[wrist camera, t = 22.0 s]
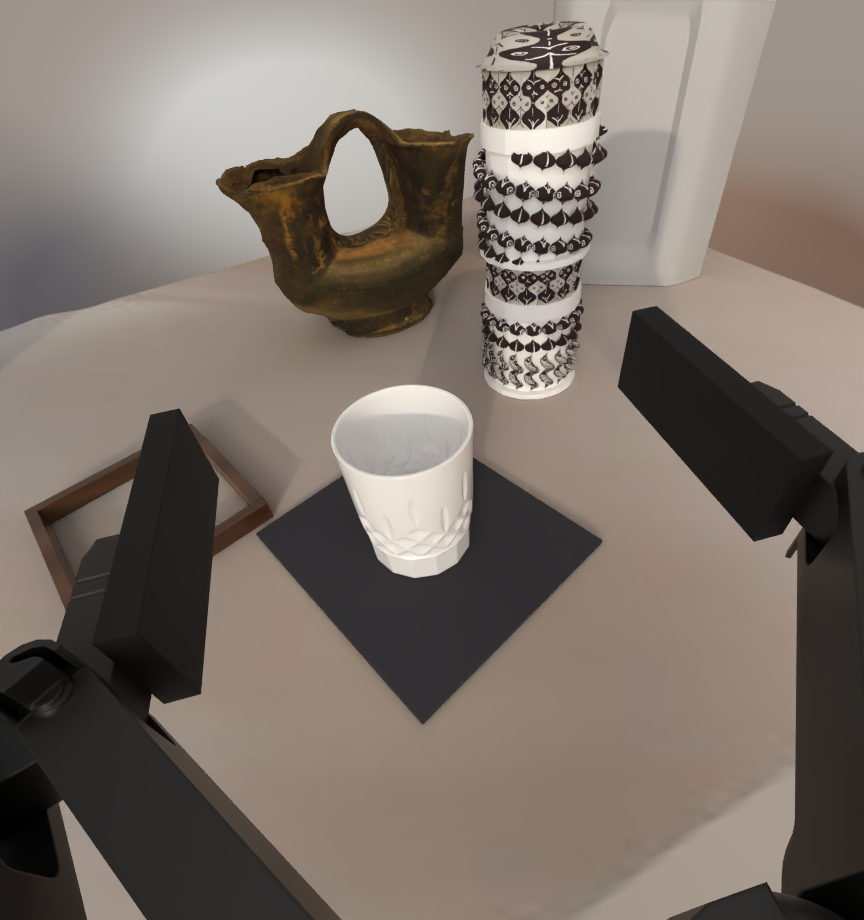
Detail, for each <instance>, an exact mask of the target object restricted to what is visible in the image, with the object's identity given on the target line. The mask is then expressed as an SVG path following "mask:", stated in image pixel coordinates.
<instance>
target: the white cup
mask: <svg viewBox="0 0 864 920" xmlns="http://www.w3.org/2000/svg"><path fill="white" fill-rule="evenodd" d="M331 445H332V449H333V452H334V454H335V457H336V459H337V462H338V464H339V467H340V470H341V472H342V475H343V477H344V480H345V483H346V485H347V488H348V490H349V493H350V496H351V498H352V501H353V503H354V506H355V509H356V511H357V514H358V516H359V518H360V520H361V522H362V525H363V527H364V529H365V531H366V532H367V534H368V535H369V538H370V540H371V542H372V545H373V548H374V550H375V553H376V556H377V558H378V560H379V561H380V562H381V563H383V564H384V565H385V566H386V567H387V568H388V569H390V570H391V571H392V572H393V573H397V574H401V575H405V576H409V577H412V578H419V577H425V576H432V575H438V574H440V573H442V572H443V571H445V570H447V569H448V568H450V567H452V566H453V565H455V564H457V563H458V561H459V560H460V559H461V557H462V556H463V554H464V553H465V551H466V550H467V548H468V547H469V540H470V516H471V513H472V499H473V419H472V415H471V412H470V410H469V409H468V407H467V406H466V404H465V403H464V402H463V401H462V400H461V399H459V398H458V397H457V396H455V395H454V394H452V393H450V392H448V391H445V390H443V389H440V388H436V387H432V386H426V385H399V386H393V387H388V388H384V389H381V390H378V391H375V392H372V393H370V394H368V395H366V396H364V397H362V398H360V399H358V400H357V401H355V402H354V403H352V404H351V405H350V406H349V407H347V408H346V409H345V410H344V411H343V412H342V414H341V415H340V416H339V417H338V419H337V421H336V422H335V424H334V427H333V429H332V433H331Z"/></svg>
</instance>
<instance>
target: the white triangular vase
mask: <svg viewBox="0 0 864 920" xmlns="http://www.w3.org/2000/svg"><path fill="white" fill-rule="evenodd" d="M775 3H776V0H554V16H553V22H562V21H578V22H585V23H587V24H588V25H589V26H590V27H591V28H592V30H593V32H594V34H595V37H596V39H597V42H598V45H599V47H600V49H603V50H606V51H608V53H609V55H608V56H606V57H604V64H603V72H602V84H601V92H600V101H599V110H600V112H601V119H600V124H601V126H605V129H608V130H607V131H608V132H607V133H606V134H604V135H602V137H600V139H598V140H597V142H596V140H595V142H596V143H597V144H600V145H601V146H602V147H603V148H605V149H606V150H607V157H606V158H605V159H604V160H602V161H601V162H600V163H598V164H596V165H595V166H593V168H592V164H591V167H590V176H592V175H593V176H594V178H596V179H597V180H599V181H600V183H601V188H600V189H599V190H598V192H597V193H596V194H595V195H593V196H591V197H590V198H589V199H590V200H592V201H593V202H594V203H595V205H596V206H597V207H598V212H597V214H595V215H594V216H593V218H591V219H589V220H587V221H585V224H584V227H585V228H587V229H588V230H589V232H591V233H592V236H593V238H592V240H591V242H590V250H589V251H588V252H587V254H586V255H585V256H584V257H583V258H582V267H581V276H580V280H581V284H593V285H641V286H672V285H677V284H680V283H683V282H686V281H689V280H691V279H694V278H697V277H699V276H700V273H701V270H702V266H703V262H704V259H705V255H706V252H707V248H708V244H709V241H710V237H711V234H712V230H713V226H714V223H715V219H716V215H717V212H718V208H719V205H720V201H721V197H722V194H723V190H724V186H725V183H726V179H727V176H728V172H729V168H730V165H731V161H732V158H733V154H734V150H735V147H736V143H737V140H738V136H739V132H740V129H741V125H742V121H743V118H744V115H745V111H746V107H747V104H748V100H749V97H750V93H751V89H752V85H753V82H754V79H755V75H756V71H757V67H758V64H759V60H760V57H761V53H762V50H763V46H764V42H765V39H766V35H767V32H768V28H769V24H770V21H771V17H772V14H773V10H774V6H775ZM593 143H594V142H593ZM596 166H597V167H596Z"/></svg>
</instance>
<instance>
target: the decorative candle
mask: <svg viewBox="0 0 864 920" xmlns="http://www.w3.org/2000/svg"><path fill="white" fill-rule="evenodd" d="M608 55H609V53H608V51H606V50H603V49H600V47H599V45H598V42H597V39H596V37H595V34H594V32H593V30H592V28H591V27H590V26H589V25H588V24H587V23H585V22H578V21H562V22H548V23H539V24H532V25H525V26H519V27H515V28H510V29H507V30H504V31H502V32H500V33H499V34H498V35H497V36H496V37H495V39H494V41H493V43H492V46H491V48H490V51H489V53H488V55H487V57H486V59H485V60H484V61H483V62H481V63H479V64H477V68H478V69H481V70H482V78H483V89H482V93H483V95H482V100H483V118H481V123H480V126H481V147H482V148H483V149H482V150H481V151H480V152H479V153H478V157H477V158H476V159H475V160H474V161H473V168H474V176H475V178H476V179H478V181H477V182H476V183H475V185H474V189H475V193H474V199H475V200H477V201H478V202H481V210H479V211H478V213H477V219H478V222H477V227H478V228H479V230H480V231H479V233H478V238H479V239H480V240H479V241H478V244H477V245H478V248H479V249H480V255H481V256H482V257H483V258H484V259H485V260H486V261H487V266H486V274H487V280H486V282H485V301H484V302H483V303H482V308H483V310H482V311H481V316H482V317H483V320H482V323H483V325H484V326H483V327H482V332H483V333H484V336H483V338H482V341H483V344H482V351H483V357H484V358H483V361H482V364H483V366H484V367H485V370H484V378H485V380H486V382H487V383H488V385H489V386H490V388H492V389H494V390H495V391H497V392H498V393H500V394H502V395H504V396H508V397H512V398H516V399H542V398H546V397H550V396H554V395H557V394H558V393H560V392H562V391H563V390H565V389H566V388H568V387H569V386H570V384H571V382H572V381H573V379H574V377H575V370H574V363H576V362H578V359H577V357H575V355H576V349H577V348H579V347H580V343H579V342H578V341H576V339H577V338H578V332H577V331H579V330H580V329H581V327H582V326H581V323H580V322H579V320H580V314H582V313H583V311H584V308H583V306H582V305H581V304H582V299H581V289H582V285H581V280H580V276H581V267H582V258H583V257H584V256H585V255H586V254H587V252H588V251H589V250H590V242H591V240H592V238H593V236H592V233H591V232H589V230H588V229H587V228H585V227H584V224H585V221H587V220H589V219H591V218H593V216H594V215H595V214H597V212H598V207H597V206H596V205H595V203H594V202H593V201H592V200H590V199H589V198H590V197H591V196H593V195H595V194H596V193H597V192H598V190H599V189H600V188H601V183H600V181H599V180H597V179H596V178H594V176H593V175H592V176H590V167H591V164H592V168H593V166H595V165H596V164H598V163H600V162H601V161H602V160H604V159H605V158H606V157H607V150H606V149H605V148H603V147H602V146H601V145H600V144H597V143H596V142H597V140H598V139H600V137H602V135H604V134H606V133H607V132H608V131H607V130H608V129H605V126H601V124H600V119H601V112H600V110H599V101H600V92H601V84H602V72H603V64H604V57H606V56H608ZM595 140H596V142H595ZM593 142H594V143H593ZM483 163H485V164H486V171H485V168H484V164H483ZM596 167H597V166H596ZM484 187H486V195H487V196H486V197H485V193H484V190H483V188H484ZM486 214H487V217H486ZM489 341H490V344H489Z"/></svg>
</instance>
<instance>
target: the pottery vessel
mask: <svg viewBox="0 0 864 920" xmlns="http://www.w3.org/2000/svg"><path fill="white" fill-rule="evenodd" d="M354 128H359V129H360V131H361V132H362V133H363V134H364V135H365V136H366V137H367V138H368V139H369V140H370V143H371V144H372V146H373V148H374V151H375V153H376V156H377V158H378V161H379V164H380V167H381V169H382V172H383V175H384V180H385V183H386V187H387V191H388V196H389V202H388V207H387V209H386V212H385V214H384V215H383V217H382V218H381V219H380V220H379V221H378V222H377V223H375V224H374V225H373V226H371V227H369V228H368V229H366V230H364V231H362V232H360V233H358V234H355V235H351V236H343V235H340V234H338V233H337V232H335V231H334V230H333V229H332V227H331V225H330V222H329V220H328V216H327V213H326V209H325V202H324V192H323V185H324V182H325V179H326V175H327V172H328V169H329V164H330V161H331V158H332V156H333V153H334V149H335V146H336V144H337V142H338V141H339V139H341V138H342V137H343V136H344V135H346V134H347V133H348V132H349V131H350V130H352V129H354ZM473 137H474V134H469V133H465V134H462V135H458V136H454V137H453V136H451V135H450V132H449V130H448V131H444V132H443V133H441V132H429V131H425V130H423V129H410V128H408V129H403V130H391V129H390V128H389V127H388V126H386V124H384V123H383V122H382V121H380V120H379V119H377V118H376V117H374V116H373V115H371V114H369V113H366V112H364V111H356V110H355V109H352V110H348V111H343V112H337V113H334V114H331V115H330V116H329V117H328V118H327V120H326V121H325V122H324V123H323V124H322V125H321V126H320V127H319V128H318V130H317V131H316V133H315V135H314V138H313V139H312V141H311V143H310V144H309V145H308V146H306V147H305V148H303V149H302V150H301V151H299V152H297V153H296V154H295V155H293V156H291V157H289V158H284V159H283V158H275V159H264V160H259V161H256V162H253V163H251V164H249V165H247V166H246V167H245V168H244V167H243V166H240V167H233V168H230V169H227V170H225V172H224V173H223V174H222V176H221V178H219V179H217V180H216V185H218V187H219V189H220V190H221V192H222V193H223V194H225V195H226V196H228V197H229V198H231V199H233V200H234V201H235V202H237V203H238V204H239V205H240V206H242V207H243V208H244V209H245V210H246V211H248V212H249V213H250V215H251V216H252V218H253V219H254V221H255V222H256V224H257V225H258V227H259V229H260V232H261V235H262V241H263V242H264V243H265V245H266V247H267V248H268V250H269V253H270V256H271V259H272V263H273V272H274V278H275V282H276V284H277V285H278V287H279V288H280V289H281V291H282V292H283V294H284V295H285V296H286V297H287V298H288V299H289V300H290V301H291V302H292V303H293V304H294V305H295V306H296V307H297V308H298V309H300V310H302V311H304V312H306V313H312V314H317V315H323V316H325V317H327V318H328V319H329V320H330V321H329V322H331V323H332V325H334V326H335V327H337V328H338V329H340V328H341V329H342V331H345V333H347V335H351V336H366V337H376V336H383V335H388V334H392V333H395V332H399V331H401V330H403V329H406V328H408V327H410V326H413V325H415V324H417V323H418V322H420V321H421V320H422V319H423V318H424V317H425V316H426V315H427V314H428V313H429V312H430V309H431V307H432V306H433V303H432V301H431V299H430V298H428V296H427V294H428V293H429V291H430V290H431V289H432V288H433V287H434V286H435V285H437V283H438V282H439V281H440V280H441V279H442V278H443V277H444V276H445V275H446V274H447V272H448V271H449V270H450V269H451V267H452V266H453V265H454V264H455V262H456V261H457V260H458V258H459V257H460V256H461V255H462V250H463V226H462V200H463V189H464V171H465V160H466V152H467V147H468V144H469V142H470V140H471V139H472V138H473ZM332 321H333V322H332Z"/></svg>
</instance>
